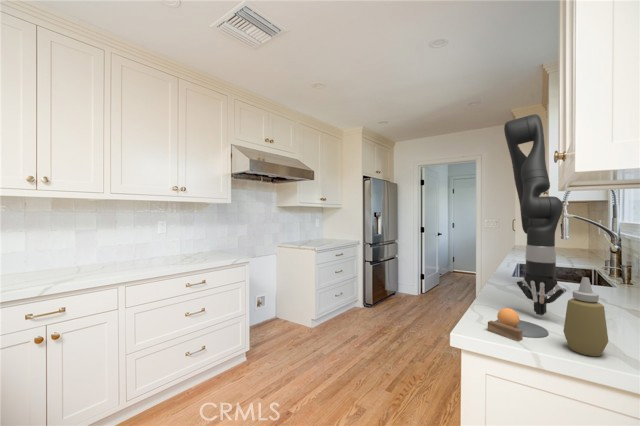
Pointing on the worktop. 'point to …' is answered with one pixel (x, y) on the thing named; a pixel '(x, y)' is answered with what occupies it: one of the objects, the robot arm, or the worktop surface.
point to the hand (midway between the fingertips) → (539, 314)
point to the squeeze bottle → (585, 321)
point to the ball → (508, 317)
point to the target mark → (531, 329)
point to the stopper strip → (505, 330)
